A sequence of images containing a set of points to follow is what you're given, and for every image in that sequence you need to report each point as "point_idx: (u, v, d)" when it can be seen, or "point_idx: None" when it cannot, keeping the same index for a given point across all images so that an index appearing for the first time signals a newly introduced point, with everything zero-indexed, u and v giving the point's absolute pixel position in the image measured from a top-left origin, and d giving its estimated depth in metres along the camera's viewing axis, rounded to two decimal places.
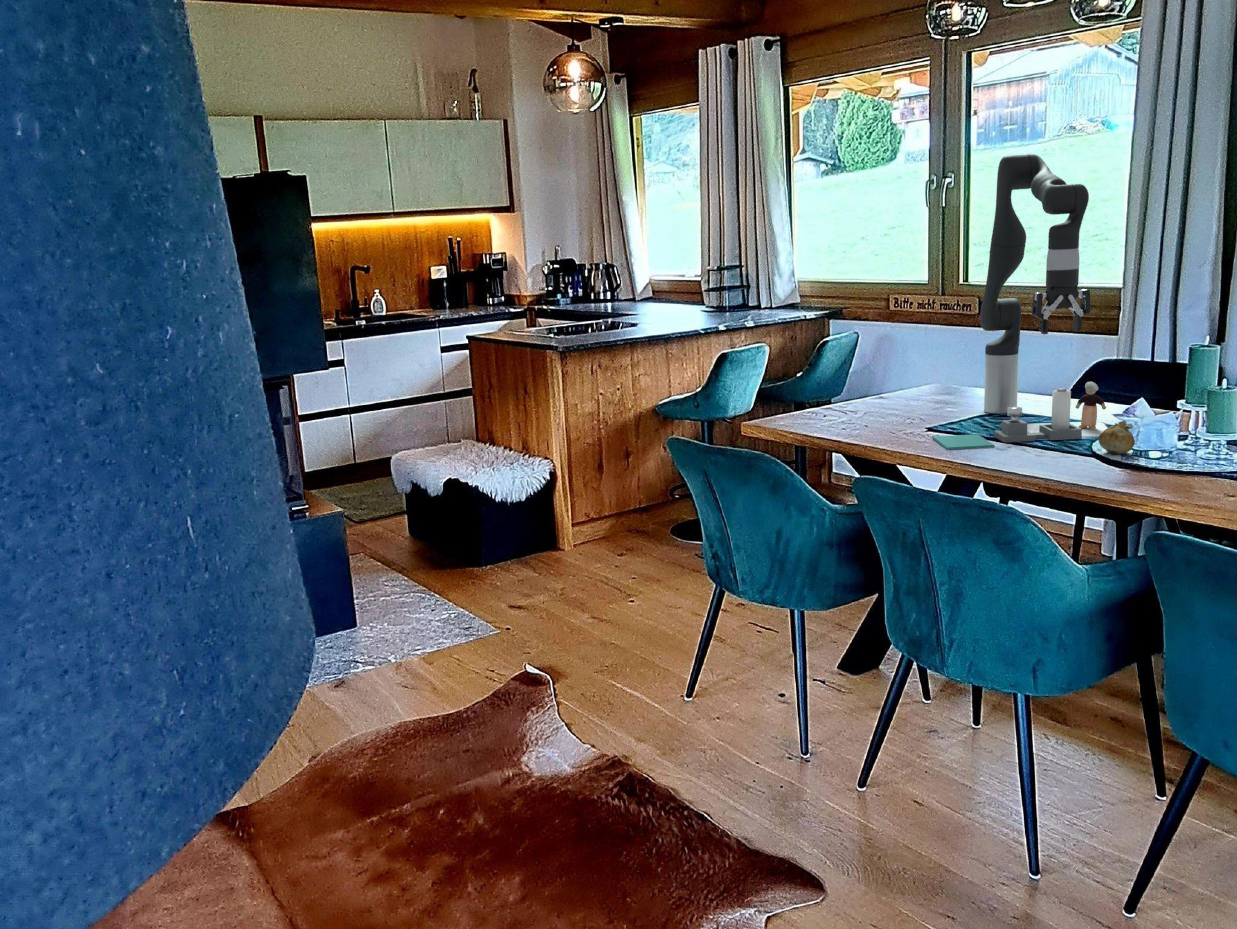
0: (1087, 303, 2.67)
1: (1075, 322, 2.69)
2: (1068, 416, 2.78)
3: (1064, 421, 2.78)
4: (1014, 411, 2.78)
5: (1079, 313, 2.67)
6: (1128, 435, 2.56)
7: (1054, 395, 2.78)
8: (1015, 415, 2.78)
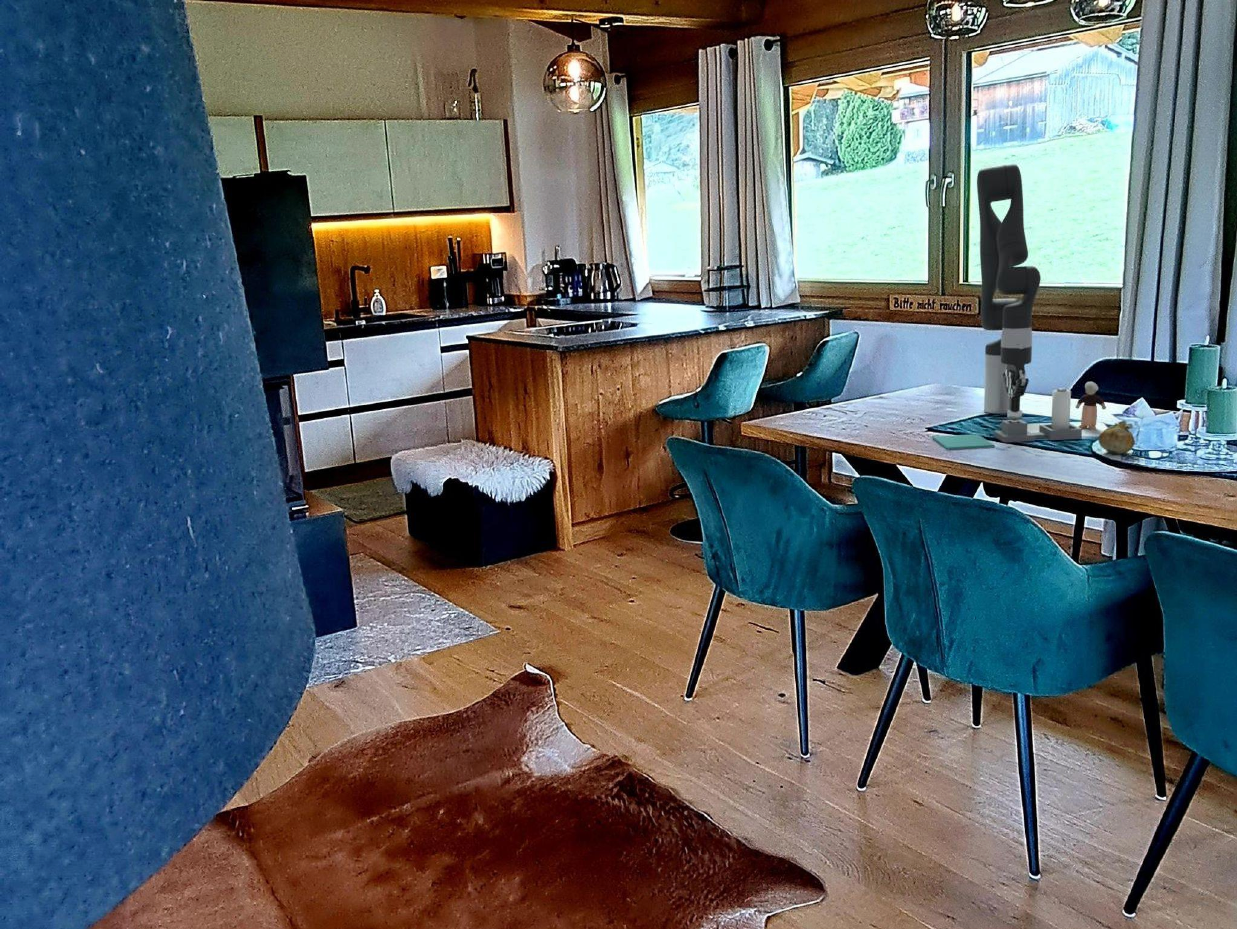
0: None
1: None
2: (1068, 416, 2.78)
3: (1064, 421, 2.78)
4: (1014, 414, 2.78)
5: None
6: (1128, 435, 2.56)
7: (1054, 395, 2.78)
8: (1015, 418, 2.79)
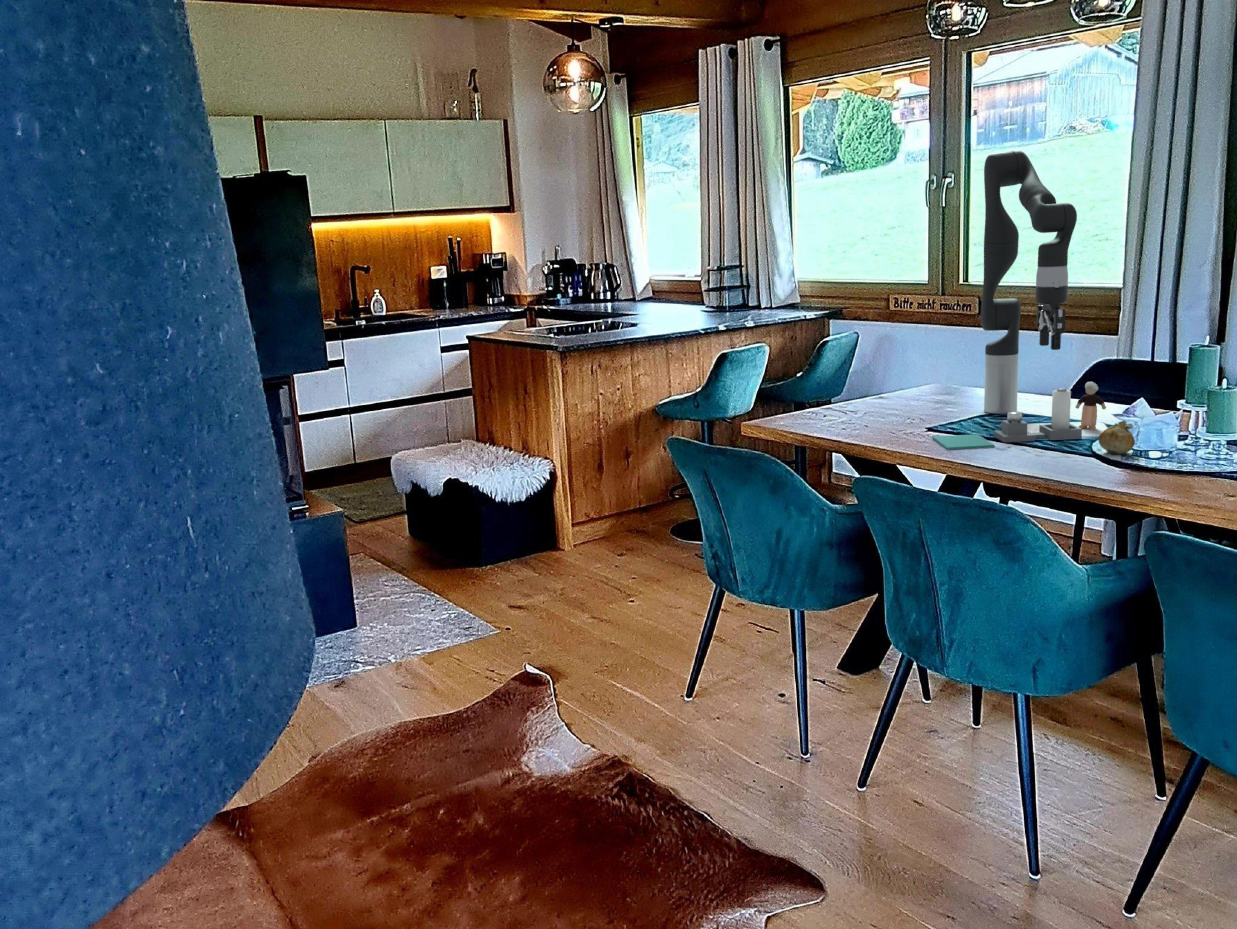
0: None
1: (1045, 336, 2.79)
2: (1068, 416, 2.78)
3: (1064, 421, 2.78)
4: (1014, 416, 2.79)
5: None
6: (1128, 435, 2.56)
7: (1054, 395, 2.78)
8: (1015, 420, 2.79)
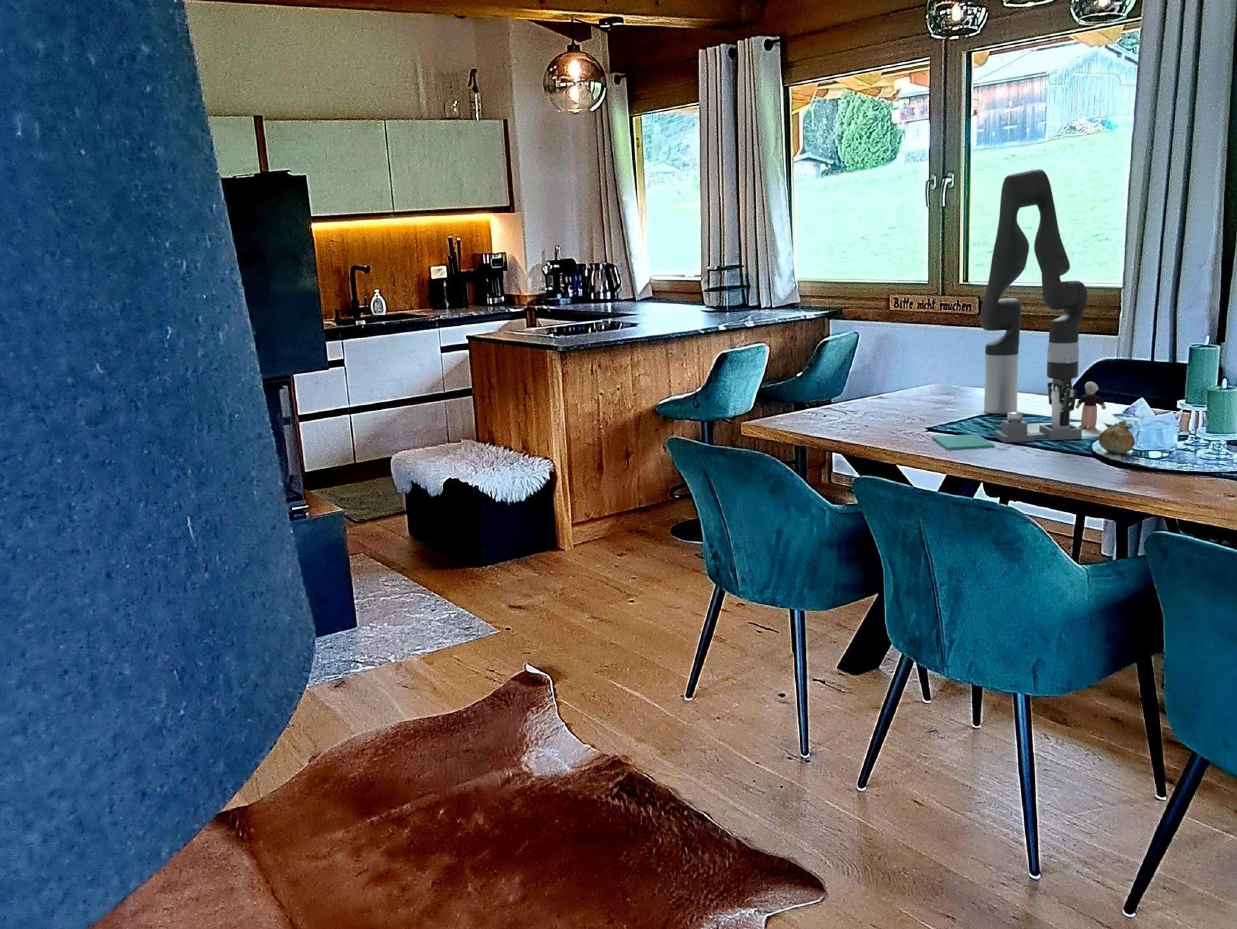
0: None
1: None
2: None
3: None
4: (1014, 416, 2.79)
5: None
6: (1128, 435, 2.56)
7: (1054, 395, 2.78)
8: (1015, 420, 2.79)
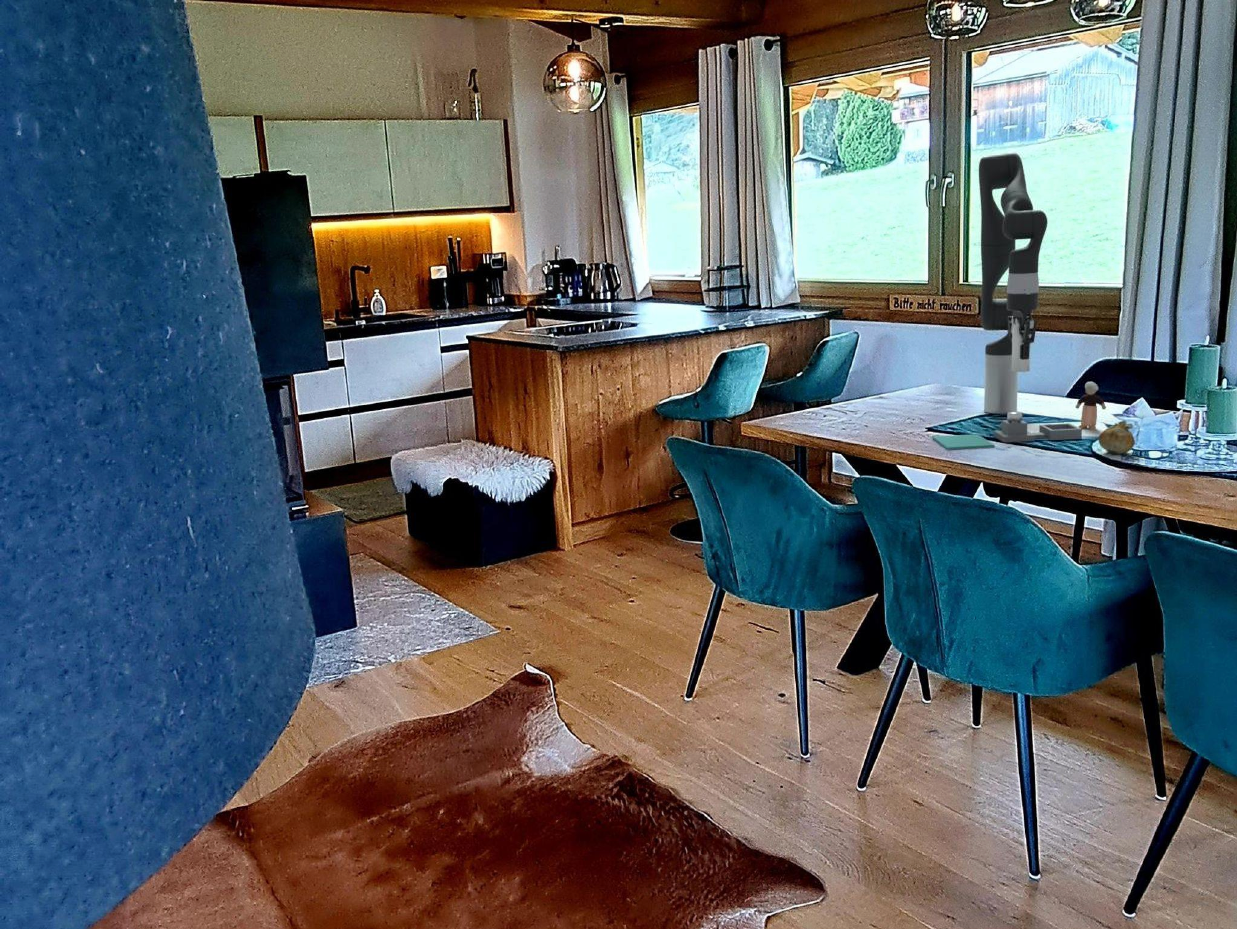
0: None
1: None
2: None
3: None
4: (1014, 416, 2.79)
5: None
6: (1128, 435, 2.56)
7: (1014, 328, 2.73)
8: (1015, 420, 2.79)
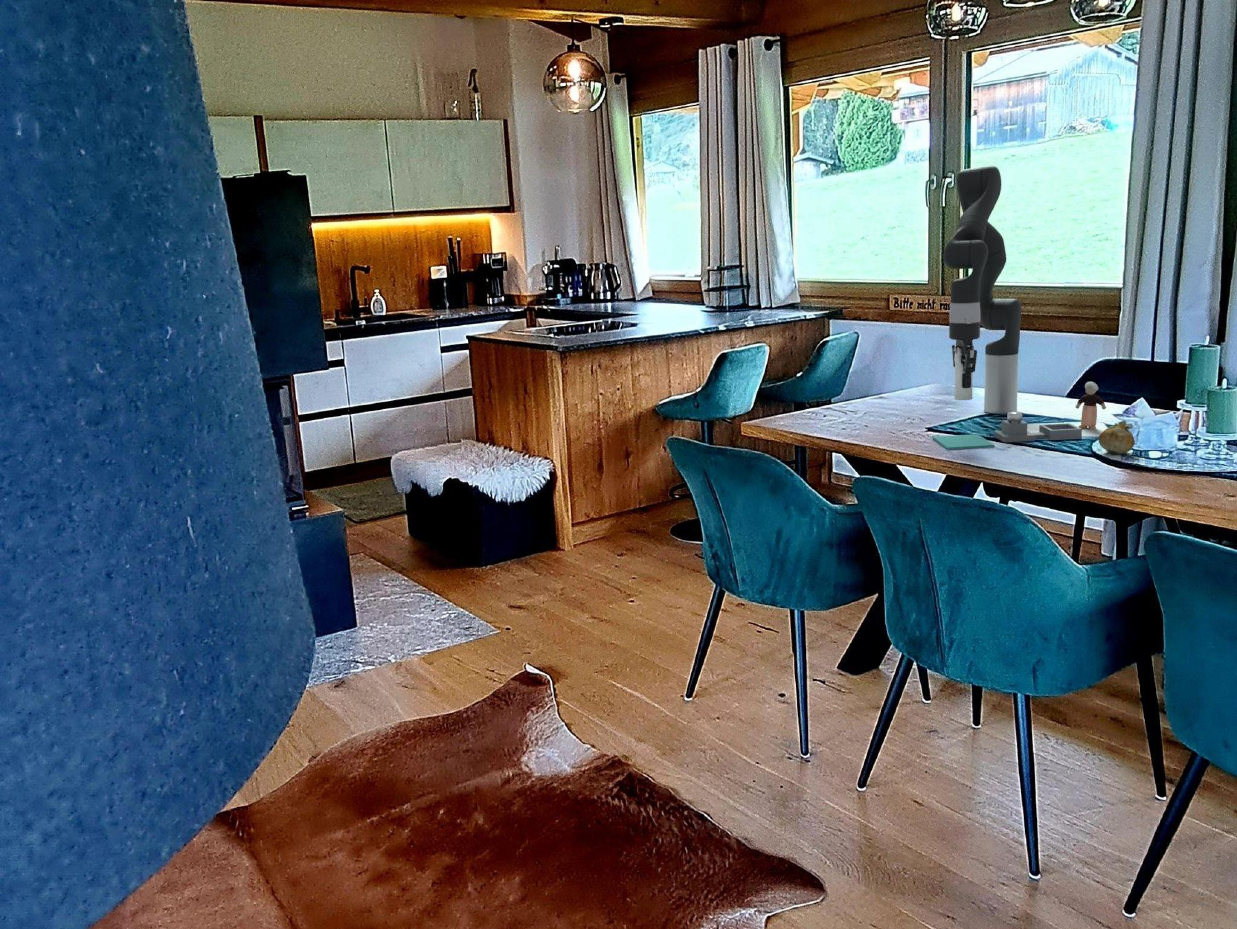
0: None
1: None
2: None
3: None
4: (1014, 416, 2.79)
5: None
6: (1128, 435, 2.56)
7: (956, 357, 2.74)
8: (1015, 420, 2.79)
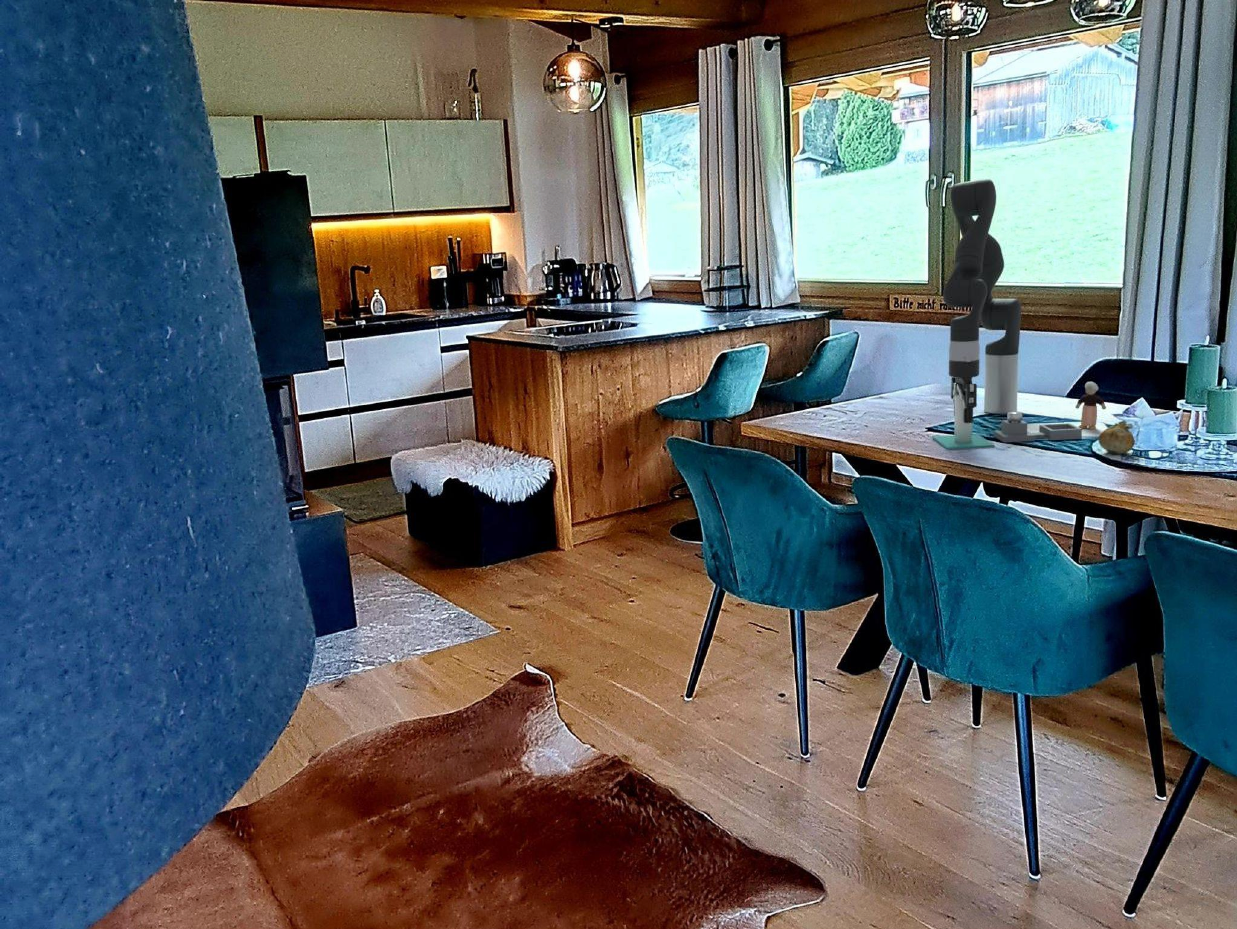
0: None
1: None
2: None
3: (966, 426, 2.77)
4: (1014, 416, 2.79)
5: None
6: (1128, 435, 2.56)
7: (956, 399, 2.77)
8: (1015, 420, 2.79)
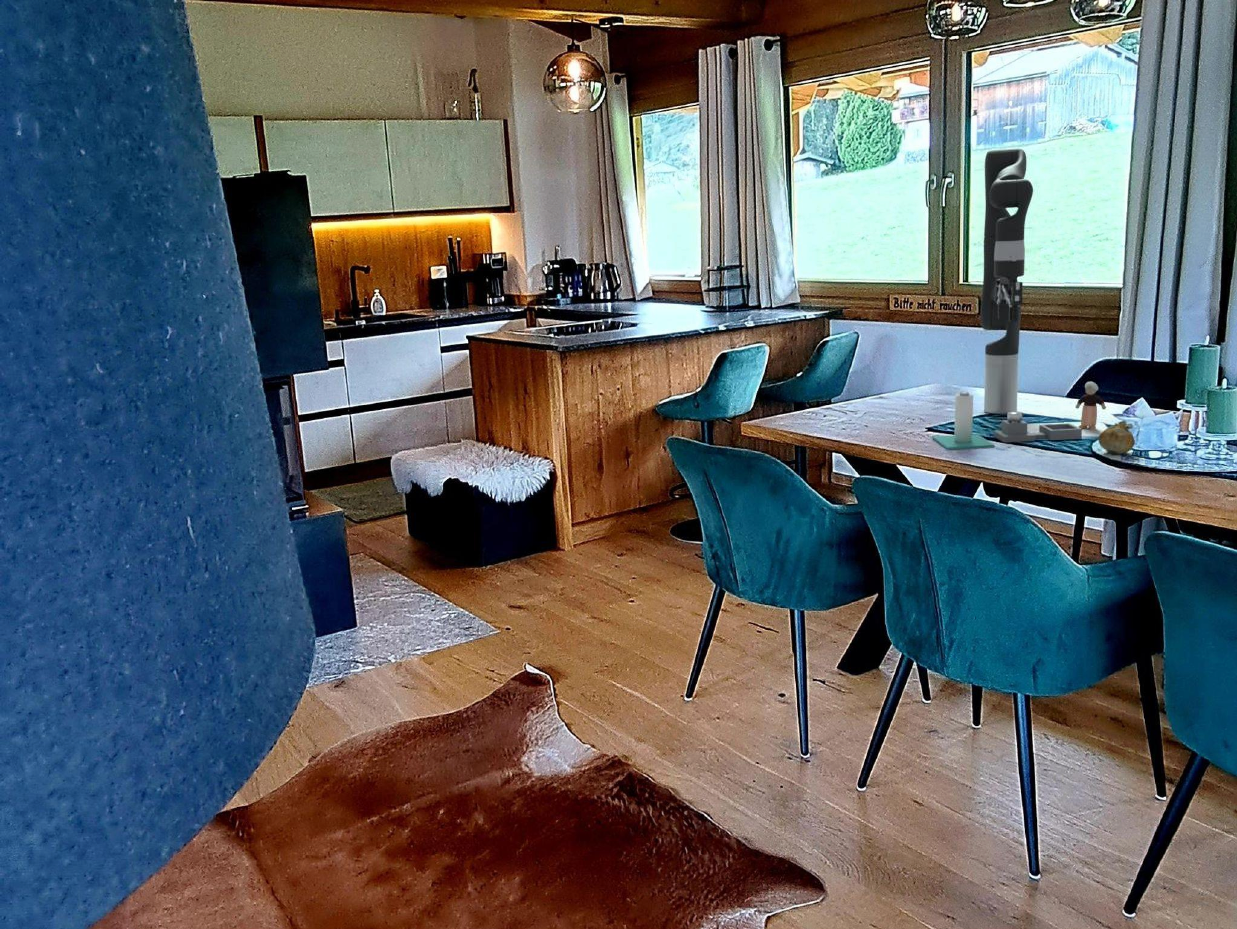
0: None
1: (1003, 310, 2.88)
2: (970, 420, 2.77)
3: (966, 426, 2.77)
4: (1014, 416, 2.79)
5: None
6: (1128, 435, 2.56)
7: (956, 399, 2.77)
8: (1015, 420, 2.79)
